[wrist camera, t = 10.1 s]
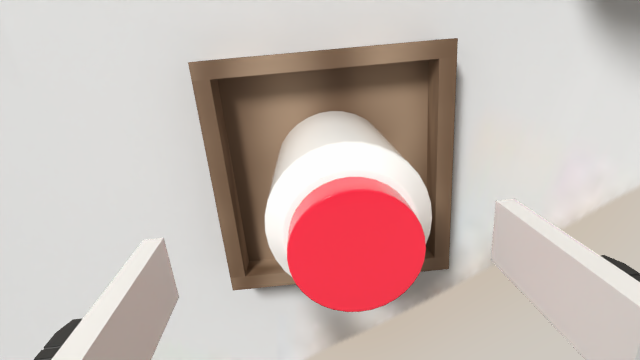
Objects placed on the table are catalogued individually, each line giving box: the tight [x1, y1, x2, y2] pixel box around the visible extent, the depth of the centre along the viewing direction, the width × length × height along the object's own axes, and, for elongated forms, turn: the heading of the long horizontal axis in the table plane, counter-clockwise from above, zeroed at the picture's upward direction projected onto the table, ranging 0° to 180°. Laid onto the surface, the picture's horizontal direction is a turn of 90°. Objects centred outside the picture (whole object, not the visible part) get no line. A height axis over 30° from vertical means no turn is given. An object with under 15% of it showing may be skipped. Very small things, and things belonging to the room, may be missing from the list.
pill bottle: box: [265, 111, 432, 312], centre depth 19 cm, size 8×8×11 cm
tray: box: [188, 38, 458, 290], centre depth 24 cm, size 15×15×2 cm
